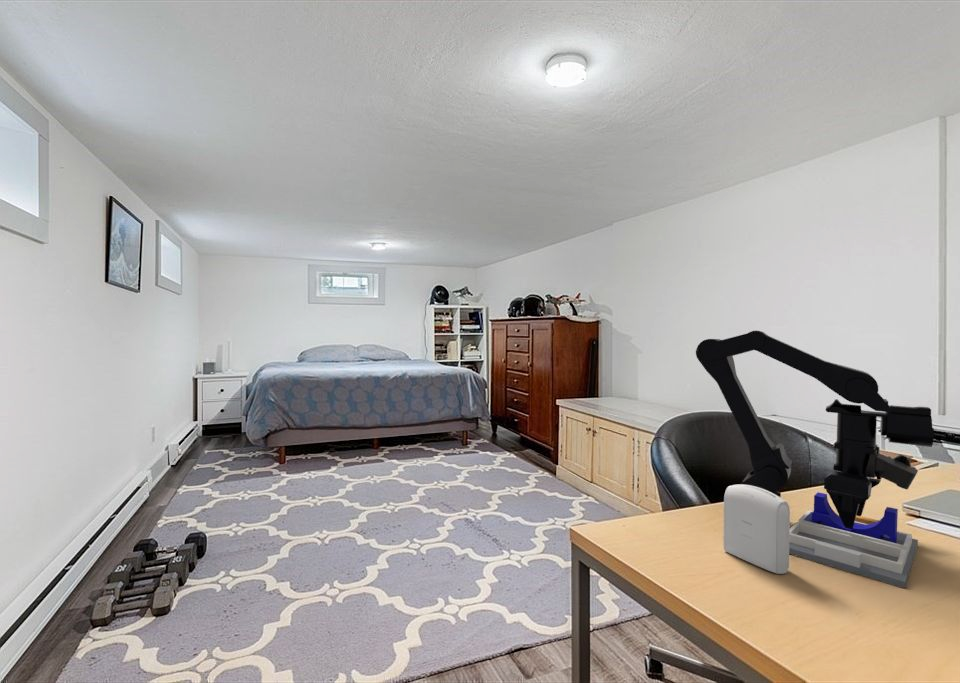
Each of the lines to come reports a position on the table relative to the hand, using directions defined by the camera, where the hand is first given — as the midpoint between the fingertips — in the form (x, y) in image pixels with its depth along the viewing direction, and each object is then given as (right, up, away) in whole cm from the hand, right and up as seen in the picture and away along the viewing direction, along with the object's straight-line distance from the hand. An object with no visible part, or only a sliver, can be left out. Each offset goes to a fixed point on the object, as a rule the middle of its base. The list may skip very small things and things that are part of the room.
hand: (853, 521), depth 89 cm
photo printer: (-23, -4, -9) cm, 25 cm away
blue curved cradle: (0, -3, 0) cm, 3 cm away
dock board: (-3, -4, -3) cm, 6 cm away
